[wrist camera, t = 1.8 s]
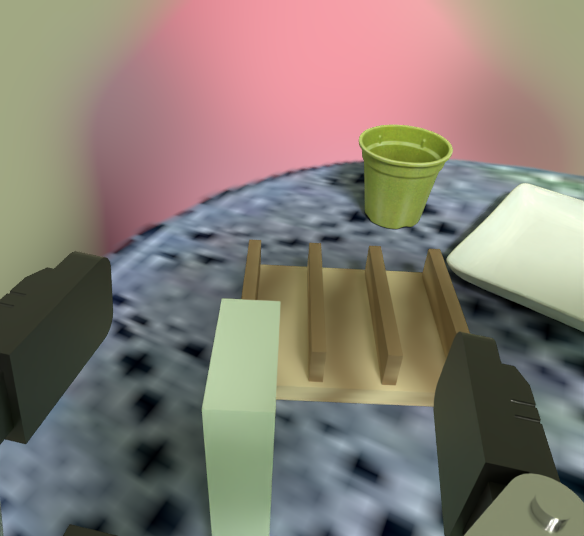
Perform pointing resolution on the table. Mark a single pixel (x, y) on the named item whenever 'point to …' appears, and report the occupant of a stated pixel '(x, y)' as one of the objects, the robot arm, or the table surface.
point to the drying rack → (358, 328)
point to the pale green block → (241, 417)
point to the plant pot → (400, 172)
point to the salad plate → (530, 253)
